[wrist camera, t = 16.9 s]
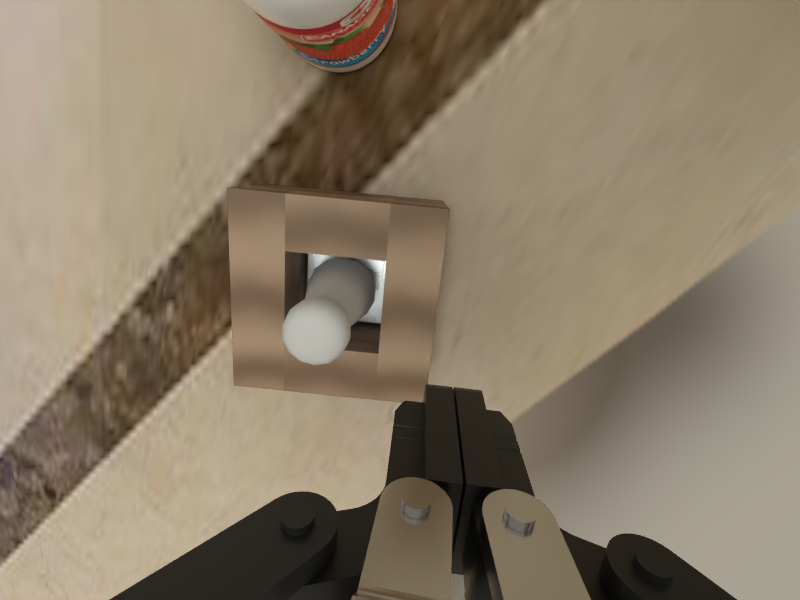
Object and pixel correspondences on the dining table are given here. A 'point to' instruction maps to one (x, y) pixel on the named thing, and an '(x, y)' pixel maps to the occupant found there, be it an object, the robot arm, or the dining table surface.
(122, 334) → the dining table surface
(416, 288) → the holder
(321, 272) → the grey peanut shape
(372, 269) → the white marbled square plate
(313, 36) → the fruit juice
